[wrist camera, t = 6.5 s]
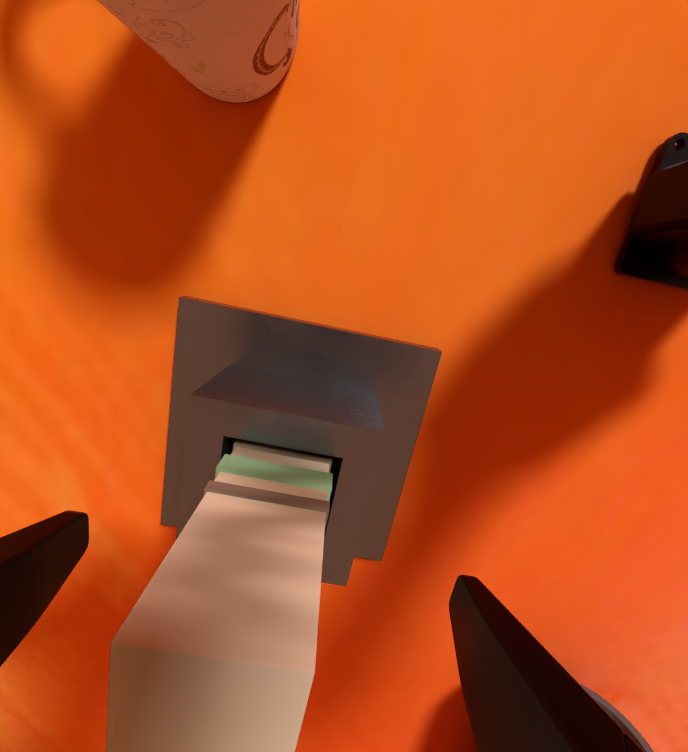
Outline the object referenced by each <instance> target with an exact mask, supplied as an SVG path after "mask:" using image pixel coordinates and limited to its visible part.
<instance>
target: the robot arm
mask: <svg viewBox="0 0 688 752" xmlns="http://www.w3.org/2000/svg"><path fill="white" fill-rule="evenodd" d="M675 143H677V150H675V148H674V144H675ZM627 262H629V267H628V269H626V267H625V266H626V263H627ZM615 271H616V273H617V274H619V275H621V276H626V277H630V278H634V279H639V280H643V281H648V282H652V283H656V284H661V285H665V286H669V287H674V288H678V289H682V290H687V291H688V133H678V134H676V135H674V136H671V137H669V138H668V139H667V140H665V142H664V143H663V145H662V147H661V150H660V152H659V155H658V158H657V160H656V163H655V165H654V168H653V170H652V173H651V175H650V176H649V178H648V181H647V183H646V186H645V188H644V191H643V193H642V196H641V199H640V201H639V204H638V206H637V209H636V211H635V214H634V216H633V219H632V221H631V224H630V226H629V231H628V233H627V236H626V238H625V241H624V243H623V246H622V248H621V251H620V253H619V256H618V258H617V261H616V263H615ZM88 543H89V519H88V515H87V514H86V513H83V512H77V511H65V512H62V513H60V514H57V515H55V516H52V517H50V518H48V519H45V520H43V521H40V522H38V523H35V524H33V525H30V526H28V527H25V528H23V529H21V530H18V531H16V532H13V533H11V534H8V535H6V536H3V537H1V538H0V667H1V665H2V664H3V663H4V662H5V661H6V659H7V658H8V657H9V656H10V654H11V653H12V652H13V651H14V649H15V648H16V647H17V646H18V645H19V643H20V642H21V641H22V640H23V638H24V637H25V636H26V635H27V633H28V632H29V631H30V630H31V628H32V627H33V626H34V625H35V623H36V622H37V621H38V619H39V618H40V617H41V615H42V614H43V612H44V611H45V610H46V608H47V607H48V605H49V604H50V602H51V601H52V599H53V598H54V597H55V595H56V594H57V592H58V591H59V589H60V588H61V586H62V585H63V583H64V582H65V580H66V579H67V578H68V576H69V575H70V573H71V572H72V570H73V569H74V567H75V566H76V564H77V563H78V562H79V560H80V559H81V557H82V556H83V554H84V553H85V551H86V549H87V546H88ZM449 613H450V619H451V625H452V632H453V638H454V645H455V651H456V657H457V664H458V670H459V676H460V681H461V686H462V691H463V695H464V700H465V704H466V708H467V712H468V716H469V720H470V724H471V728H472V732H473V736H474V740H475V744H476V748H477V752H644V751H643V750H642V749H641V748H640V747H639V746H638V745H637V744H636V743H635V742H634V741H633V740H632V738H631V737H630V736H629V735H628V734H626V733H623V730H622V728H621V727H620V726H619V725H618V724H617V723H616V722H615V721H614V720H613V719H612V718H611V717H610V716H609V715H608V714H607V713H606V712H605V711H604V709H603V708H602V707H601V706H600V705H599V704H598V703H597V702H596V701H595V700H594V699H593V698H592V697H591V696H590V695H589V694H588V693H587V692H586V691H585V690H584V689H583V688H582V687H581V685H580V684H579V683H578V682H577V681H576V680H575V679H574V678H573V677H572V676H571V675H570V674H569V673H568V672H567V671H566V670H565V669H564V668H563V667H562V666H561V665H560V664H559V663H558V662H557V660H556V659H555V658H554V657H553V656H552V655H551V654H550V653H549V652H548V651H547V650H546V649H545V648H544V647H543V646H542V645H541V644H540V643H539V642H538V641H537V640H536V639H535V638H534V636H533V635H532V634H531V633H530V632H529V631H528V630H527V629H526V628H525V627H524V626H523V625H522V624H521V623H520V622H519V621H518V620H517V619H516V618H515V617H514V616H513V615H512V614H511V613H510V611H509V610H508V609H507V608H506V607H505V606H504V605H503V604H502V603H501V602H500V601H499V600H498V599H497V598H496V597H495V596H494V595H493V594H492V593H491V592H490V591H489V590H488V589H487V587H486V586H485V585H484V584H483V583H482V582H481V581H480V580H479V579H478V578H476V577H474V576H468V575H459V576H458V578H457V580H456V583H455V586H454V589H453V592H452V594H451V597H450V601H449Z"/></svg>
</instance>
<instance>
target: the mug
mask: <svg viewBox="0 0 688 752" xmlns="http://www.w3.org/2000/svg"><path fill="white" fill-rule="evenodd" d="M98 1H99V2H100V3H101V4H102V5H103V6H105V7H106V8H107V9H108V10H109V11H110V12H111V13H112V14H114V15H115V16H116V17H117V18H118V19H119V20H120V21H121V22H123V23H124V24H125V25H126V26H127V27H128V28H129V29H130V30H132V31H133V32H134V33H135V34H136V35H137V36H138V37H139V38H141V39H142V40H143V41H144V42H145V43H146V44H147V45H148V46H150V47H151V48H152V49H153V50H154V51H155V52H156V53H157V54H159V55H160V56H161V57H162V58H163V59H164V60H165V61H166V62H168V63H169V64H170V65H171V66H172V67H173V68H174V69H175V70H176V71H178V72H179V73H180V74H181V75H182V76H183V77H184V78H185V79H187V80H188V81H189V82H190V83H191V84H193V85H194V86H195V87H196V88H198V89H199V90H201V91H202V92H204V93H205V94H207V95H209V96H211V97H213V98H216V99H219V100H222V101H227V102H235V103H236V102H247V101H251V100H254V99H257V98H259V97H262V96H263V95H265V94H267V93H268V92H269V91H271V90H272V89H273V88H274V87H275V86H276V85H277V84H278V83H279V82H280V81H281V80H282V78H283V77H284V76H285V74H286V72H287V71H288V69H289V67H290V65H291V62H292V60H293V57H294V54H295V50H296V46H297V41H298V33H299V0H98Z"/></svg>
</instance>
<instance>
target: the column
mask: <svg viewBox="0 0 688 752" xmlns="http://www.w3.org/2000/svg"><path fill="white" fill-rule="evenodd" d="M331 465H332V457H331V456H326V455H321V454H315V453H310V452H305V451H299V450H294V449H288V448H283V447H278V446H272V445H267V444H261V443H256V442H251V441H245V440H240V439H237V440H236V441H235V443H234V445H233V452H232V453H231V455H228V454H225V455H224V456H223V458H222V459H221V461H220V462H219V464H218V465H217V467H216V473H215V480H214V481H212V480H210V481H209V482H208V484H207V485H206V487H205V488H204V495H203V499H202V500H201V502H200V503H199V505H198V507H197V508H196V510H195V511H194V513H193V514H192V516H191V518H190V519H189V521H188V522H187V524H186V525H185V527H184V529H183V530H182V532H181V533H180V535H179V536H178V538H177V539H176V541H175V543H174V544H173V546H172V547H171V549H170V550H169V552H168V554H167V555H166V557H165V558H164V560H163V561H162V563H161V565H160V566H159V568H158V569H157V571H156V572H155V574H154V576H153V577H152V579H151V580H150V582H149V583H148V585H147V586H146V588H145V590H144V591H143V593H142V594H141V596H140V597H139V599H138V601H137V602H136V604H135V605H134V607H133V608H132V610H131V612H130V613H129V615H128V616H127V618H126V619H125V621H124V623H123V624H122V626H121V627H120V629H119V630H118V632H117V633H116V635H115V637H114V638H113V640H112V641H111V643H110V666H109V691H108V716H107V741H106V752H295V749H296V745H297V741H298V737H299V733H300V729H301V725H302V721H303V717H304V714H305V710H306V706H307V702H308V698H309V694H310V690H311V686H312V682H313V678H314V674H315V663H316V648H317V634H318V619H319V605H320V590H321V576H322V561H323V547H324V532H325V527H326V523H327V519H328V514H329V508H330V501H329V500H330V495H331V491H332V480H333V474H332V473H330V469H331Z"/></svg>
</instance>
